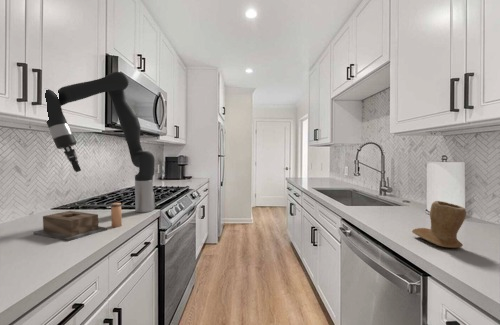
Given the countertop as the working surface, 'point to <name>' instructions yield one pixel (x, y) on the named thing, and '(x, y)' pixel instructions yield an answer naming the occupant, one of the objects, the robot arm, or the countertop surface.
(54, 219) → the hitch block
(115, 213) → the dowel pin
